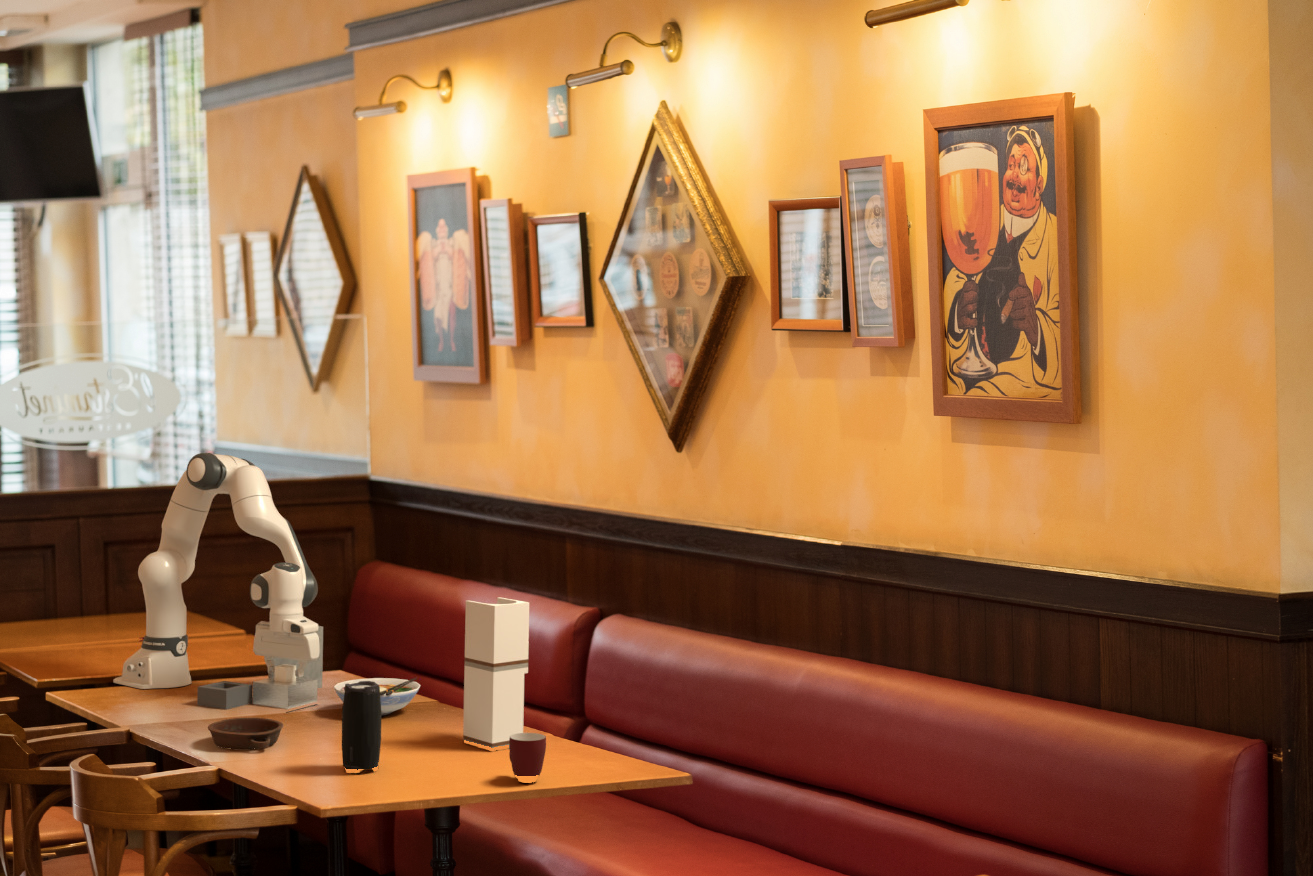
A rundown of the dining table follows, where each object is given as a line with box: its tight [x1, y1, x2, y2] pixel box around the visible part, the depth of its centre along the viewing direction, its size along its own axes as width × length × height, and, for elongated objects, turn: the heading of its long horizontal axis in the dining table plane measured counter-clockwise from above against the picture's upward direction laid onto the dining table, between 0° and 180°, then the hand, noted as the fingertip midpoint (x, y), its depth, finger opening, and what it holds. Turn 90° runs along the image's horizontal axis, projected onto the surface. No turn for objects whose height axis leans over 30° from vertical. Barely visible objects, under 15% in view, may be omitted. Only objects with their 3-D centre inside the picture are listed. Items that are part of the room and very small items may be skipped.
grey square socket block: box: [196, 680, 253, 711], centre depth 398 cm, size 10×10×6 cm
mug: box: [508, 732, 547, 776], centre depth 329 cm, size 11×8×10 cm
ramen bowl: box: [333, 677, 421, 717], centre depth 396 cm, size 25×23×8 cm
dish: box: [207, 717, 284, 750], centre depth 357 cm, size 18×22×5 cm
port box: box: [252, 677, 318, 714], centre depth 402 cm, size 12×12×7 cm
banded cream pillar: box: [462, 597, 530, 748], centre depth 362 cm, size 11×11×35 cm
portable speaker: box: [341, 681, 382, 770], centre depth 335 cm, size 9×9×20 cm
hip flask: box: [267, 625, 324, 689], centre depth 425 cm, size 16×4×20 cm, turn 125°
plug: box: [274, 664, 296, 684], centre depth 402 cm, size 4×4×10 cm
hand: (285, 674), depth 402 cm, fingers open, 8 cm apart
